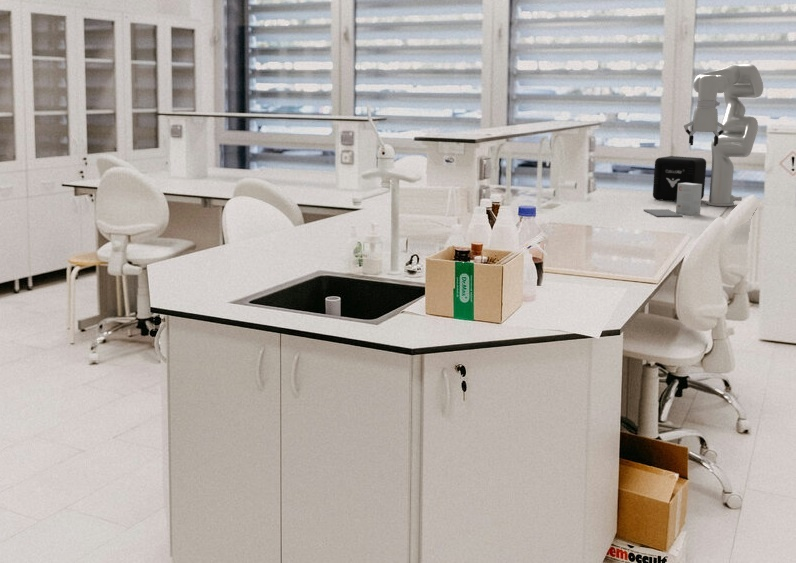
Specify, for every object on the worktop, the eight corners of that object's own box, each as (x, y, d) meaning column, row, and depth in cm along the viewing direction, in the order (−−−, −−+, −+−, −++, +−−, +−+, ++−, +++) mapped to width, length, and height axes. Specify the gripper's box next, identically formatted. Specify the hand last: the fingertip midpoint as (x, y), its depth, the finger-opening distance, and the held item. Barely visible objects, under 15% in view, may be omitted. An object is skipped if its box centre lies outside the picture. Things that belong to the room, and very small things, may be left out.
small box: (700, 214, 392) (702, 184, 389) (691, 215, 388) (693, 185, 385) (684, 212, 398) (686, 182, 395) (675, 213, 394) (677, 183, 391)
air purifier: (650, 199, 438) (653, 157, 434) (663, 196, 449) (666, 155, 445) (691, 203, 425) (694, 160, 421) (703, 200, 436) (706, 158, 432)
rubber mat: (668, 210, 401) (668, 209, 401) (682, 216, 384) (682, 215, 384) (643, 210, 401) (643, 209, 401) (656, 217, 383) (656, 215, 383)
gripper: (726, 105, 391) (722, 145, 394) (684, 104, 393) (680, 144, 397) (729, 105, 383) (725, 146, 387) (686, 104, 386) (683, 145, 389)
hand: (703, 145), depth 392 cm, fingers open, 9 cm apart
